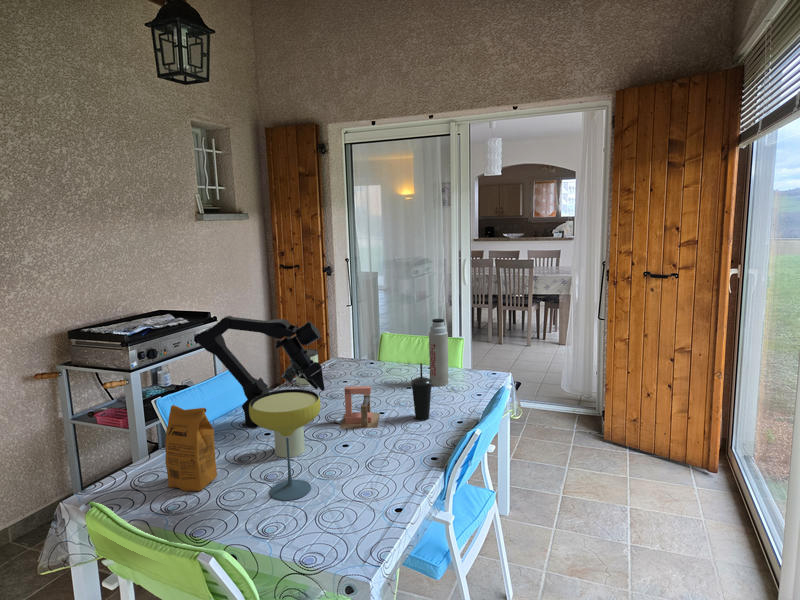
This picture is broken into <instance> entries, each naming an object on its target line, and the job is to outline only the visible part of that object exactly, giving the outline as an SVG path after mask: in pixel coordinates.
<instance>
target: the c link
mask: <svg viewBox="0 0 800 600" xmlns="http://www.w3.org/2000/svg"><path fill="white" fill-rule="evenodd" d="M364 394H370V395H371V394H372V386H371V385H365V386H361V385H360V386H359V385H357V386H345V387H344V405H345V406H344V409H345V413H346V417H345V423H361V411H360V412H359V411H357V412H353V401H352V395H364ZM372 413H373V411H370V412H367V414H368V423H371V422H372Z"/></svg>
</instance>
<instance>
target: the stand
mask: <svg viewBox="0 0 800 600" xmlns="http://www.w3.org/2000/svg"><path fill="white" fill-rule="evenodd" d="M360 412H361V423H345V417H346V412H345V413H344V415H343V417H342V420H341V423H340V425H339V427H338V428H339V430H340V429H378V428H379V427H378V426H379V424H380V423H379V422H380V416H381V412H372V422H371V423H368V414H367V412H371V394H363V402H362V404H361V405H360Z"/></svg>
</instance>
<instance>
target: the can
mask: <svg viewBox="0 0 800 600" xmlns="http://www.w3.org/2000/svg"><path fill="white" fill-rule="evenodd" d="M273 432H274V433H273V434H274V435H273V436H274V454H275V455H276V456H277V457H280V458H282V459H283V458H284V459H285V458H286V459H287V445H286V438H284V437H283V436H282V435H281V434H280V433H279V432H277V431H273ZM304 432H305V429H304V426H302V427H300V428H298V429H296V430H295V431H294V432H293V434H292V435H291V436H290V437H289V454H290V458H295V457H299V456H302V454H304V453H305V452H306V447H305V433H304Z"/></svg>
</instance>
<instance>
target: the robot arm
mask: <svg viewBox="0 0 800 600" xmlns="http://www.w3.org/2000/svg"><path fill="white" fill-rule="evenodd" d="M228 330H236V331H237V330H238V331H243V332H244V331H245V332H252V333H253V332H254V333H261V334H264V335H266V336H267V337H270V338H273V339H276V345H275V349H279V348H280V347H282V349H283V350H284V351H285V354H286V355H287V356H288V358H289V361H288V362H290V364H289V365H288V366H287V368H285V370H284V371H283V373H282V375H281V378H282V379H284V381H286V382H288V383H292V381H293V380H294V378H295V377H296V376H297V377H298V376H299V375H300V376H299V377H298V378H303V379H305V380H306V381H307V382H308V383H309V384H310V385H312V386H311V387H312V388H313V389H314V390H318V389H320V391H321V392H323V391H325V389H326V388H325V383H324V377H323V367H322V365H321V363H320V362H319V361H318V362H313V360H311V359H310V358H309V356H308V355H307V351H306V350H304V349H305V348H304V346H309V345H310V344H312V343H315V342H316V341H317V340H319V339H321V338H322V337H321V336H322V335H321V331H320V330H319V328H318V327H316V326H315V325H314V323H312V322H311V320H309V321H307V322H306V323H304V325H301V326H296V325H293V324H291V323H290V322H289V320H287V319H284V318H280V319H279V318H277V319H267V320H263V319H262V320H261V319H252V318H247V317H246V318H245V317H244V318H243V317H236V316H232V315H227V316H224V317H223V318H221V319H220V321H219V322H217V323H216V324H214V325H213V326H212V327H209V328H207V329H204V330H203V331H200V333H199V334H198V336H197V343H198V344H199V346H200V347H202V348H203V349H204V350H205V351H206V352H208V353H211V354H212V355H214V356H215V357H217V358H218V360H219V362H221V364H223V366H224V367H225V368H226V369H227V371H228V372H229V373H230V374H231V375H232V376H233V378H234V379H235V380H236V381H237V382H238V383H239V384H240V386H241V387H242V390H243V393H244V396H245V398H246V401H245V402H244V403H243V404H242V405H241V408H242V410H243V412H244V422H242V423H241V424H242V426H246V427H249V428H258V427H259V426H258V425H257V424H255V423H254V422H253V421H252V420H251V418H250V414H249V404H250V402H251V401H252V400H253V399H254V398H256V397H257V396H260V395H262V394H265V393H269V392H270V389H269V388H268V387H269V385H268V384H267V383H265V381H264V380H263V378H262V377H259V378H258V379H257V378H255V377H254V376H252V374H251V373H250V372H249V371H248V370H247V369H246V368H245V366H244V365H243V364H242V363H241V362H240V361H239V359H238V358H237V357H236V356H235V355H234V354H233V352H232V351H231V350H230V349H229V348H228V347H227V344H226V342H225V338H224V336H223V334H225V332H227V331H228Z"/></svg>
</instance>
